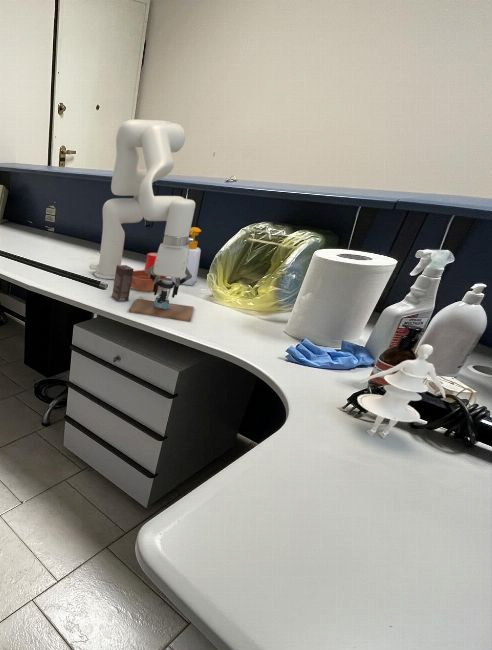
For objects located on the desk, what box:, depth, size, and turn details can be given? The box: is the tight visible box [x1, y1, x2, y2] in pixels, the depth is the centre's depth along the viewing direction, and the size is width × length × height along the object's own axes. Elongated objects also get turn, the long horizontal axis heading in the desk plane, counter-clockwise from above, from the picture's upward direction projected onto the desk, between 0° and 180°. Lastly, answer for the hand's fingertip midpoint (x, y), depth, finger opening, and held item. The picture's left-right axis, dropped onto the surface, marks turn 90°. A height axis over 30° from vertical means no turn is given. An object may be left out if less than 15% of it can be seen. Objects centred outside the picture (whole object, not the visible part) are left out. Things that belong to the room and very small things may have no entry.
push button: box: [153, 277, 176, 309], centre depth 140 cm, size 7×5×10 cm
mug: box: [144, 252, 158, 271], centre depth 185 cm, size 8×12×8 cm, turn 57°
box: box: [111, 264, 135, 302], centre depth 151 cm, size 6×4×12 cm
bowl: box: [130, 269, 168, 293], centre depth 166 cm, size 15×15×5 cm
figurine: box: [356, 343, 446, 440], centre depth 77 cm, size 13×10×20 cm
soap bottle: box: [170, 226, 202, 286], centre depth 167 cm, size 10×14×22 cm
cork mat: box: [128, 298, 194, 322], centre depth 143 cm, size 20×14×1 cm
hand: (164, 294), depth 140 cm, fingers closed on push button, 5 cm apart
